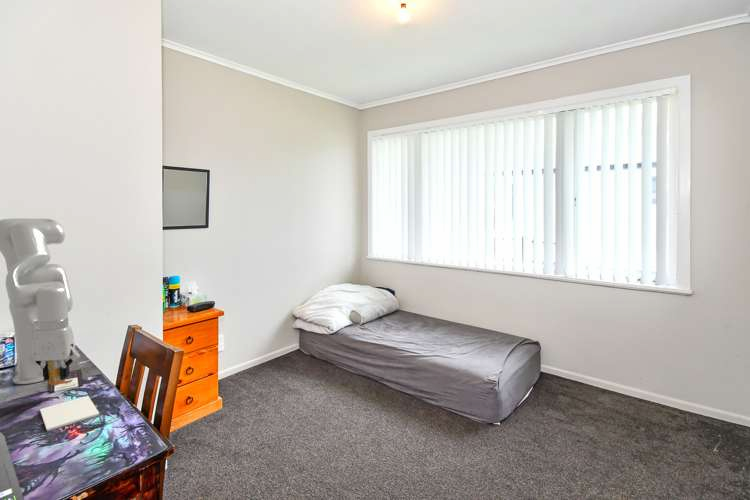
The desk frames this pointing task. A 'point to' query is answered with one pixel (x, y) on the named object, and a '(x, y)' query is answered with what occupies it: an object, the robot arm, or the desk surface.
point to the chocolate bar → (69, 382)
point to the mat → (68, 413)
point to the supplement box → (54, 372)
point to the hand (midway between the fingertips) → (56, 377)
